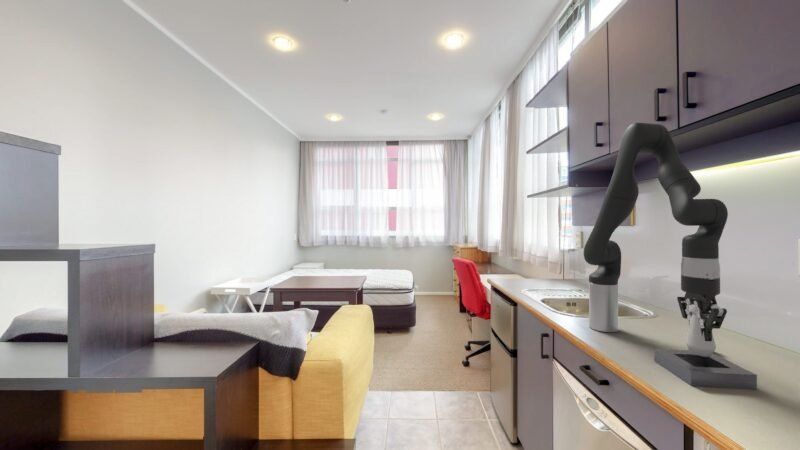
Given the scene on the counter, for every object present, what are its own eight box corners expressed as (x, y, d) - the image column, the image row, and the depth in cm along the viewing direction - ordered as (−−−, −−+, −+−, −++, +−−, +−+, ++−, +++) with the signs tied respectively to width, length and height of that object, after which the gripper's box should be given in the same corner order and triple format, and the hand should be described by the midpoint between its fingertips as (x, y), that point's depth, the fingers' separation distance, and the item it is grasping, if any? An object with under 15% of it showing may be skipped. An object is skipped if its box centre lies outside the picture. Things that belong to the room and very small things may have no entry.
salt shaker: (713, 360, 79) (712, 308, 79) (683, 352, 84) (682, 304, 84) (718, 354, 83) (717, 304, 83) (689, 347, 88) (688, 300, 87)
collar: (654, 360, 92) (654, 348, 91) (709, 363, 89) (709, 351, 89) (690, 385, 78) (690, 371, 78) (756, 389, 76) (756, 374, 76)
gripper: (665, 270, 91) (666, 330, 91) (705, 279, 77) (705, 349, 77) (695, 270, 90) (695, 331, 90) (740, 279, 76) (740, 351, 76)
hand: (700, 339), depth 84 cm, fingers closed on salt shaker, 3 cm apart
